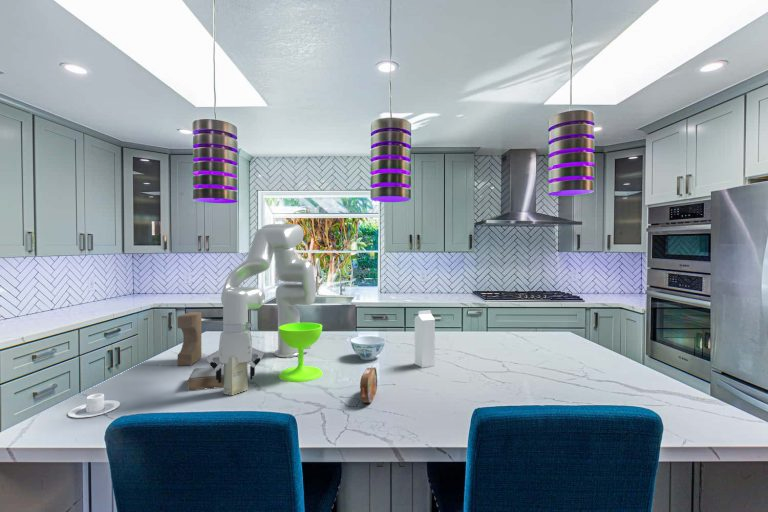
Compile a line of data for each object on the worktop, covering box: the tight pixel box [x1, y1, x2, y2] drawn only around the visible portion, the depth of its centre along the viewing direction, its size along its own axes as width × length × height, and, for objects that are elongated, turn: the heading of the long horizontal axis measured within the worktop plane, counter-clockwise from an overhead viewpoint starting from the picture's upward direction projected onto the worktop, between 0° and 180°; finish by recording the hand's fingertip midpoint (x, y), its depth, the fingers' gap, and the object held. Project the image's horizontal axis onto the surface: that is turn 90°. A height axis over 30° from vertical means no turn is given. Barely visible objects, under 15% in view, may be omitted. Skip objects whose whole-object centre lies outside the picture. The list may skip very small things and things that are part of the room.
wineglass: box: [278, 322, 323, 383], centre depth 141 cm, size 16×16×18 cm
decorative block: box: [176, 311, 202, 367], centre depth 157 cm, size 11×6×20 cm, turn 5°
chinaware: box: [350, 335, 386, 361], centre depth 163 cm, size 15×15×8 cm
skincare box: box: [223, 357, 249, 396], centre depth 123 cm, size 6×4×12 cm
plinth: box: [187, 365, 224, 391], centre depth 132 cm, size 12×12×4 cm
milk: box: [414, 309, 436, 368], centre depth 153 cm, size 6×6×22 cm
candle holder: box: [67, 393, 121, 419], centre depth 110 cm, size 12×12×4 cm
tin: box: [359, 367, 378, 404], centre depth 119 cm, size 15×3×8 cm, turn 171°
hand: (235, 380), depth 123 cm, fingers open, 9 cm apart
